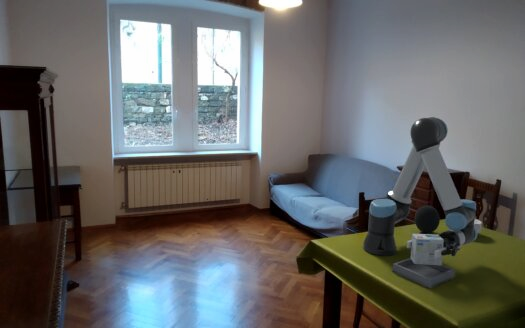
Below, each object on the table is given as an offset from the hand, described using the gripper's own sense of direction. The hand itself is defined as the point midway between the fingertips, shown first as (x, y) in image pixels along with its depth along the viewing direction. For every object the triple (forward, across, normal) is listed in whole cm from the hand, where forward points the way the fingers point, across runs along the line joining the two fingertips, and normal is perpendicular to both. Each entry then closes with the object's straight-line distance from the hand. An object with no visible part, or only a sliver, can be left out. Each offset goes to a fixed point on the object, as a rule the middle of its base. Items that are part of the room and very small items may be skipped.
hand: (421, 249), depth 154 cm
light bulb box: (-4, 0, -6) cm, 7 cm away
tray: (-4, 0, -12) cm, 12 cm away
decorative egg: (-52, +30, -12) cm, 62 cm away
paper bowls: (-69, +18, -12) cm, 73 cm away
